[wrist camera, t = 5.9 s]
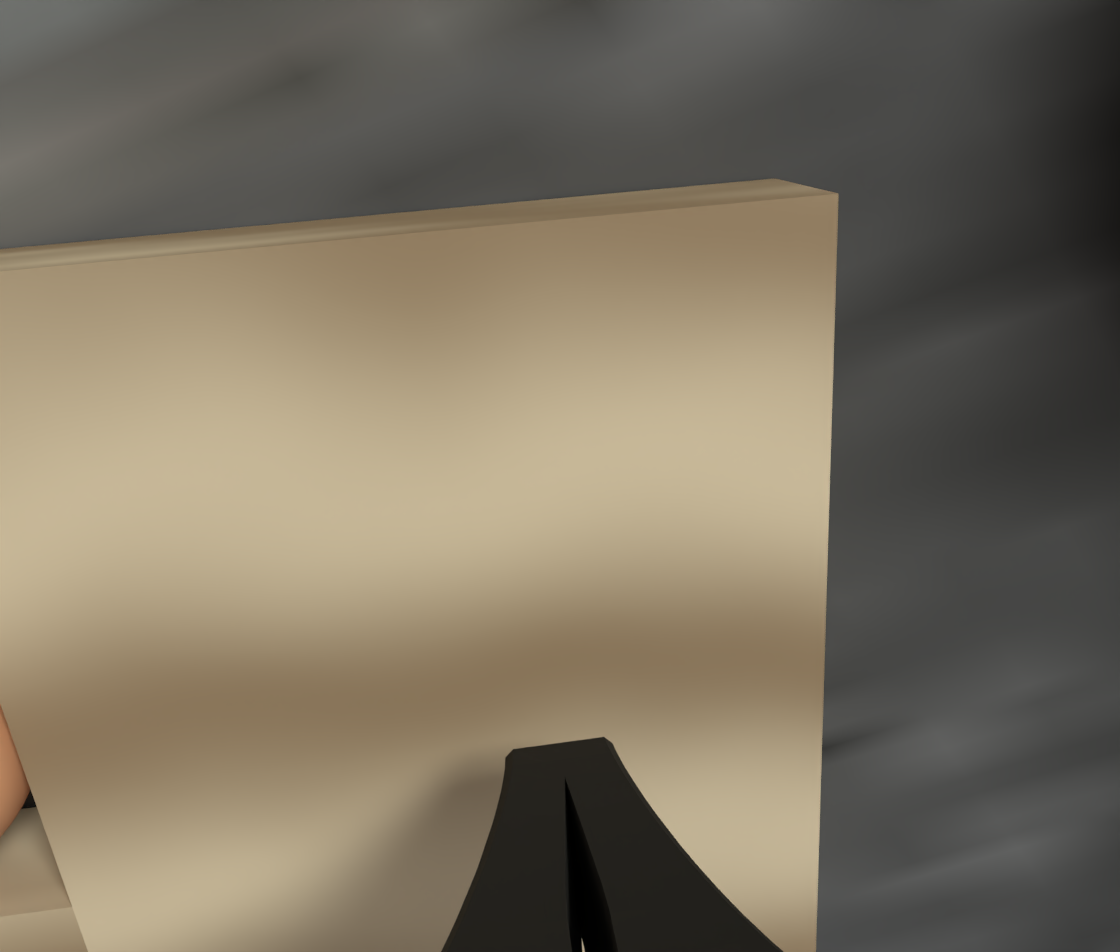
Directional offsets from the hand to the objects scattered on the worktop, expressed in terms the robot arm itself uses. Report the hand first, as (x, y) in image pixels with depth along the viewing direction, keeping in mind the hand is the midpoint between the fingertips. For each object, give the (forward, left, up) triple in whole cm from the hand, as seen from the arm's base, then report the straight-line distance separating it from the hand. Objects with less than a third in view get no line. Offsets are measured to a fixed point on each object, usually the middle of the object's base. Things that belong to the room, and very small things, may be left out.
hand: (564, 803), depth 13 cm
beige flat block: (0, +6, -4) cm, 7 cm away
